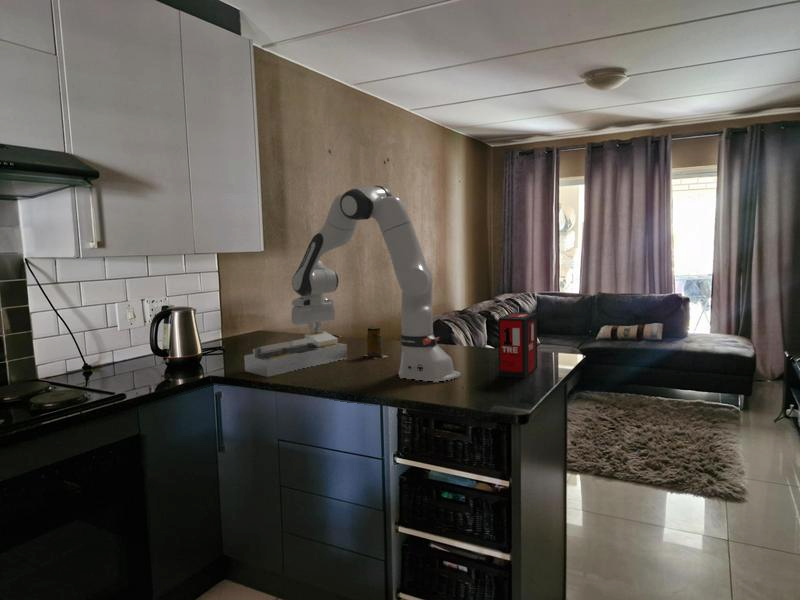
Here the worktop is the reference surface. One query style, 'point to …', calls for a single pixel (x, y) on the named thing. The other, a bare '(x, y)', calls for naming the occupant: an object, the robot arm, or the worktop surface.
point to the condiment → (374, 343)
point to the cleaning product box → (517, 344)
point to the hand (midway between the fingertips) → (314, 333)
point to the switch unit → (293, 358)
